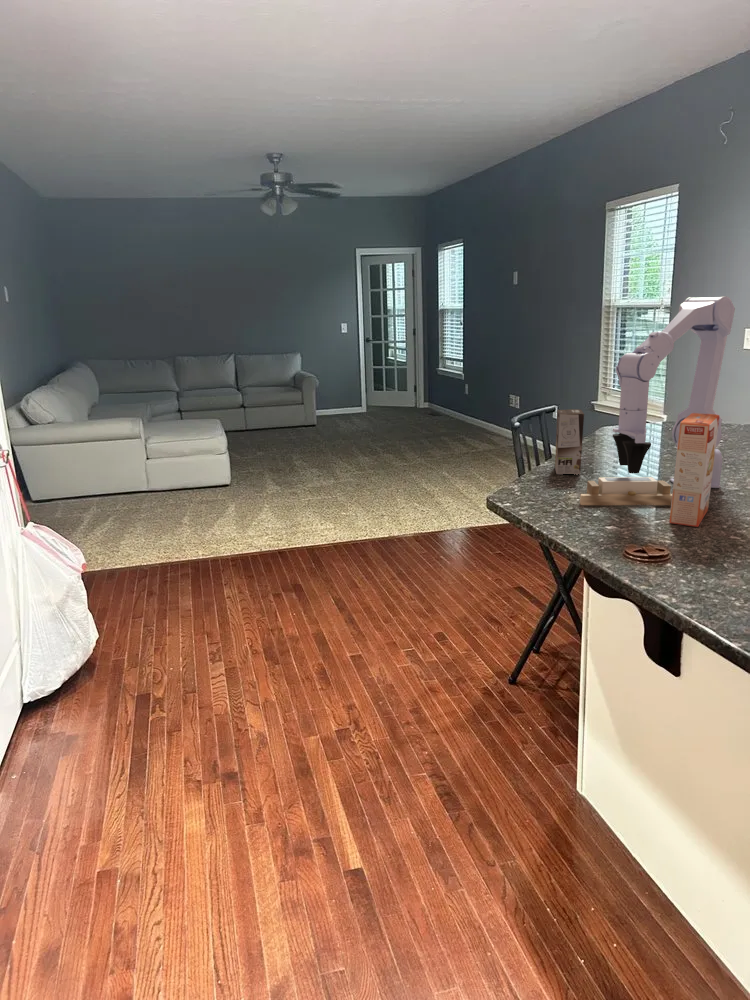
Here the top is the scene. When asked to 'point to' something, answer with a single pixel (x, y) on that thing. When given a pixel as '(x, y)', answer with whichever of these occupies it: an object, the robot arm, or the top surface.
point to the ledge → (626, 496)
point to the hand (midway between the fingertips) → (629, 468)
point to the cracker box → (694, 468)
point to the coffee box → (569, 441)
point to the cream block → (627, 485)
